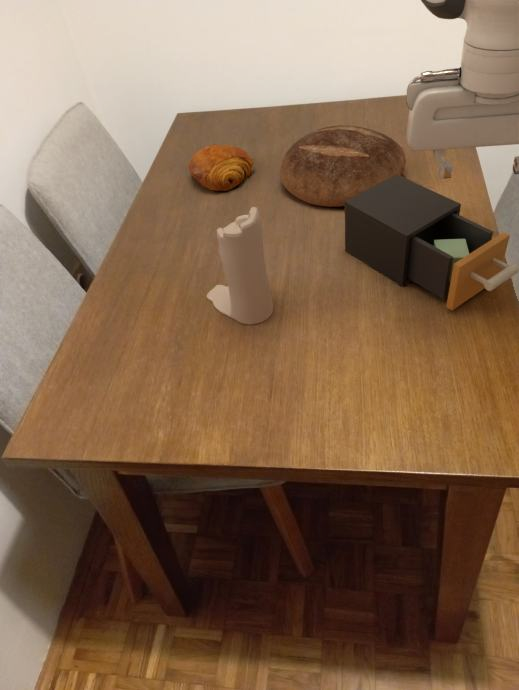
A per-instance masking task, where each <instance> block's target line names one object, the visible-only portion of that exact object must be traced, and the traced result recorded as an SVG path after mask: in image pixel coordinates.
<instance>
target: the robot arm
mask: <svg viewBox="0 0 519 690" xmlns="http://www.w3.org/2000/svg"><path fill="white" fill-rule="evenodd" d="M420 1H421V3H422V4H423V5H424V7H425V8H426V9H427V10H428V12H430V13H431V14H432V15H433V16H434V17H437V19H442V20H457V19H461V20H464V21H465V23H466V30H465V33H464V37H463V43H462V44H463V45H462V52H461V60H460V67H458V68H457V67H455V68H445V69H442V70H437V71H436V70H435V71H432V70H426V71H421V72H420V75H418V76H416V77H414V78H413V79H411V80H410V82H409V83H408V85H407V88H406V98H405V101H406V102H405V103H406V106H407V108H408V109H409V112H408V117H407V123H406V124H407V125H406V133H405V136H406V138H405V139H406V145H407V146H408V147H409V148H410V150H411V151H412V152H427V151H432V154H433V158H434V159H435V161H436V164H437V165H438V179H440V180H443V179H452V172H453V162H452V160H445V158H444V157H445V156H446V151H447V150H453V149H467V148H470V149H471V148H485V147H497V146H498V147H499V146H512V145H519V0H420ZM513 159H514V160H513V164H512V172H513V175H519V155H517V156H514V158H513Z"/></svg>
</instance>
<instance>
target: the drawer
mask: <svg viewBox="0 0 519 690" xmlns="http://www.w3.org/2000/svg"><path fill="white" fill-rule="evenodd" d="M493 234H494V231H493V230H491V229H489V228H487V227H485V226H483V225H481V224H479V223H477V222H475V221H473V220H471V219H468V218H466V217H465V216H462V215H460V214H459V215H458V214H456V213H454V212H453V213H451V214H450V215H448V216H446V217H444V218H443V219H441V220H439V221H438V222H436V223H434V224H433V225H431V226H429V227H428V228H426V229H424V230H423V231H421V232H419V233H417V234H416V235H414V236H412V237H411V238H410V242H409V252H408V262H407V272H406V277H407V278H409V279H410V280H412V281H411V282H414V283H415V284H417V285H418V286H420V287H422V288H423V289H425V290H426V291H427V292H429V293H431V294H432V295H434V296H436V297H438V298H439V299H441V300H444V299H446V298H447V300H446V305H445V306H446V308H447V309H449V310H450V311H454V310H455V309H457V308H458V307H459V306H461V305H463V304H464V303H465V302H467V301H468V300H469V299H472V298H473V297H474V296H476V295H477V294H478V293H480V292H481V291H483V290H484V289H485V290H486V291H488V292H492V291H493V290H495V289H496V288H497V287H499V286H500V285H502V284H504V283H506V282H507V281H508V280H509V279H511V278H512V277H514V276H515V275H517V274H518V273H519V267H518V265H516V264H514V263H511V264H507V263H505V262H504V259H505V256H506V252H507V249H508V246H509V245H508V244H509V241H510V237H511V234H509V233H507V232H505V231H503V232H502V233H500V234H498V235H497V236H495V237H494V238H493ZM442 239H466V243H467V247H468V251H469V255H467V256H465V257H464V258H462V259H461V260H459V261H458V262H456V263H454V266H453V271H452V277H451V282H449V278H450V272H451V266H452V260H453V256H451V255H449V254H447V253H445V252H444V251H442V250H440V249H438V248H436V247H434V246H433V243H434V240H442Z"/></svg>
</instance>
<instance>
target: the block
mask: <svg viewBox="0 0 519 690" xmlns="http://www.w3.org/2000/svg"><path fill="white" fill-rule="evenodd" d="M433 246H434V247H436V248H438V249H440V250H442V251H444V252H445V253H447V254H449V255H451V256H453V260H452V266H451V272H450V278H449V282H451V277H452V271H453V266H454V263H456V262H458V261H459V260H461V259H462V258H464V257H465V256H467V255H469V251H468V247H467V243H466V239H442V240H434V243H433Z"/></svg>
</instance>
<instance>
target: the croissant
mask: <svg viewBox="0 0 519 690" xmlns="http://www.w3.org/2000/svg"><path fill="white" fill-rule="evenodd" d="M253 160H254V159H252V157H251V156H250V154H249V153H248V152H247V151H246V150H244V149H243V148H239V147H237V146H232V145H229V144H223V145H221V144H215V143H214V144H211V145H208V146H206V147H204V148H200V149H199V150H198V151H197V152H196V153H194V154H193V155H192V156H191V157H190V159H189V163H188V166H187V167H188V171H189V173H190V174H191V175H192V177H193V178H194V179H195V180H196V181H197V182H198V183H199V184H201V186H202V187H204V188H205V189H208V190H210V191H216V192H217V191H222V192H226V191H229V190H232V189H233V188H235V187H237V186H238V185H240V184H242V183H243V181H245V180H247V179H248V178H249V177H250V175H251V173H252V168H253V166H254V161H253Z"/></svg>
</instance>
